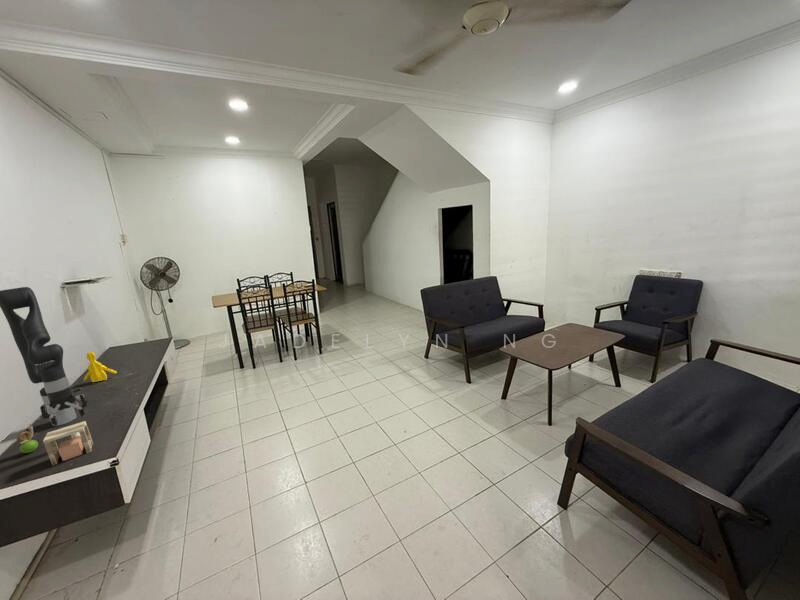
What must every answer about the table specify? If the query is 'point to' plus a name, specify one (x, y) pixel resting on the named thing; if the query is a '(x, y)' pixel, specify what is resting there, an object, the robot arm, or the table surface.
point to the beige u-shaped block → (63, 432)
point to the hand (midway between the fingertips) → (69, 420)
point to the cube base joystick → (71, 447)
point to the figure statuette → (96, 369)
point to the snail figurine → (27, 441)
